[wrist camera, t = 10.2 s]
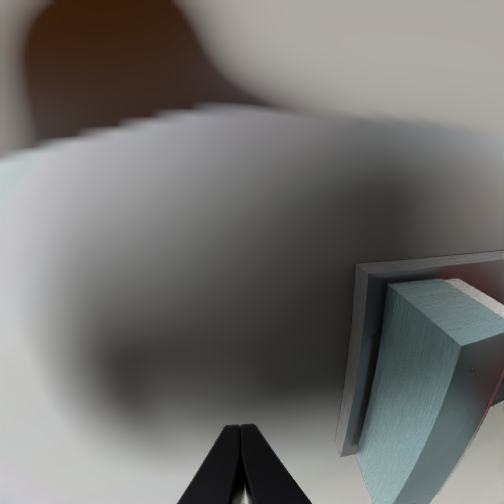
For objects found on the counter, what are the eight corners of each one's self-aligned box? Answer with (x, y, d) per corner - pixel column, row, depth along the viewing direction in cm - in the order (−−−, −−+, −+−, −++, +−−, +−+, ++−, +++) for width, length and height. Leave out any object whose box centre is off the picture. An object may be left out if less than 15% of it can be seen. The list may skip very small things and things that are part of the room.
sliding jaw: (453, 276, 8) (530, 322, 5) (408, 441, 10) (441, 499, 7) (387, 284, 8) (461, 346, 5) (354, 456, 10) (380, 522, 7)
